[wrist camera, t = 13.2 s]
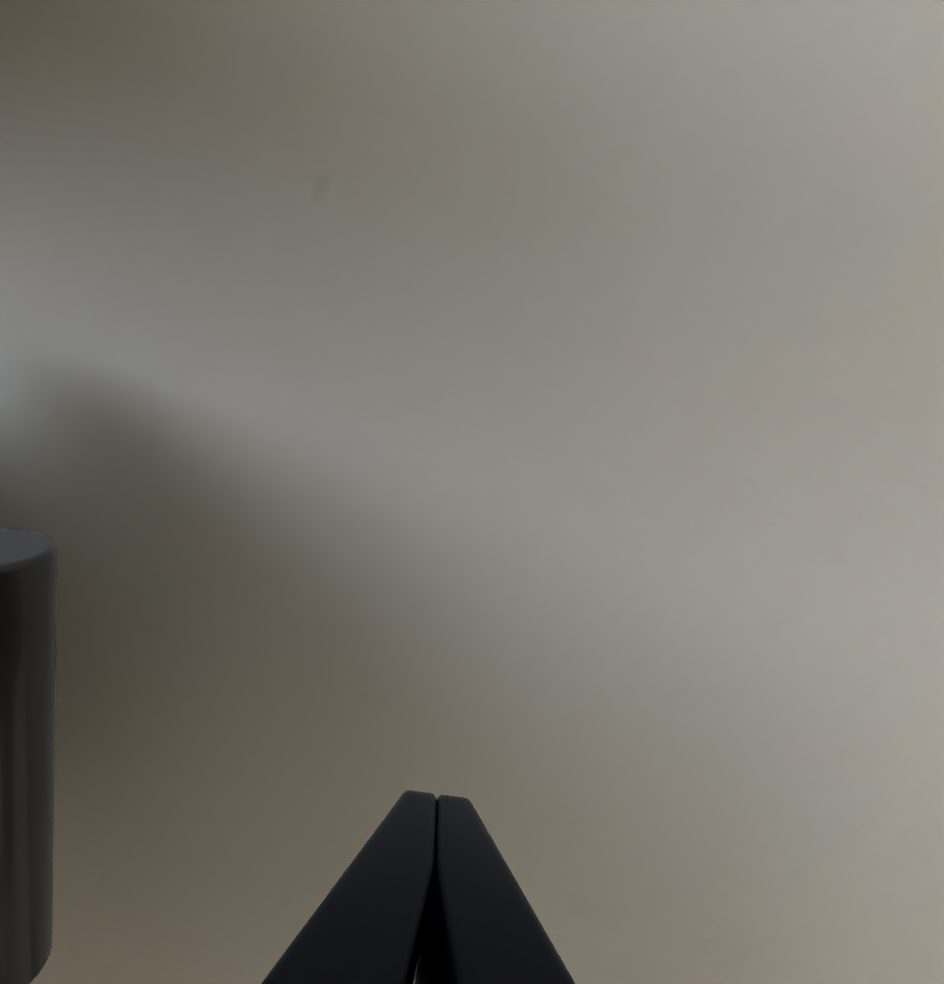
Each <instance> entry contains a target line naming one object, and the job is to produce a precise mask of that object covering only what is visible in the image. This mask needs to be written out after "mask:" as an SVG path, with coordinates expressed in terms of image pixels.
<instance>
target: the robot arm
mask: <svg viewBox="0 0 944 984" xmlns="http://www.w3.org/2000/svg"><path fill="white" fill-rule="evenodd" d="M413 983H414V984H575V982H574V981H573V979H572V977H571V975H570V974H569V972H568V970H567V968H566V967H565V965H564V963H563V961H562V960H561V958H560V956H559V954H558V953H557V951H556V949H555V947H554V946H553V944H552V942H551V941H550V939H549V937H548V935H547V934H546V932H545V930H544V928H543V927H542V925H541V923H540V921H539V920H538V918H537V916H536V914H535V913H534V911H533V909H532V907H531V906H530V904H529V902H528V901H527V899H526V897H525V895H524V894H523V892H522V890H521V888H520V887H519V885H518V883H517V881H516V880H515V878H514V876H513V874H512V873H511V871H510V869H509V867H508V866H507V864H506V862H505V861H504V859H503V857H502V855H501V854H500V852H499V850H498V848H497V847H496V845H495V843H494V841H493V840H492V838H491V836H490V834H489V833H488V831H487V829H486V827H485V826H484V824H483V822H482V820H481V819H480V817H479V815H478V814H477V812H476V810H475V808H474V807H473V805H472V803H471V802H470V800H468V799H467V798H464V797H456V796H448V795H440V796H439V797H438V798H437V801H436V797H435V795H434V794H432V793H426V792H418V791H411V790H409V791H406V792H404V793H403V794H402V796H401V797H400V798H399V800H398V801H397V802H396V804H395V805H394V806H393V808H392V809H391V810H390V812H389V813H388V814H387V816H386V817H385V818H384V820H383V821H382V822H381V824H380V825H379V826H378V828H377V829H376V831H375V832H374V833H373V835H372V836H371V837H370V839H369V840H368V841H367V843H366V844H365V845H364V847H363V848H362V849H361V851H360V852H359V853H358V855H357V856H356V857H355V859H354V860H353V861H352V863H351V864H350V865H349V867H348V868H347V869H346V871H345V872H344V873H343V875H342V876H341V877H340V879H339V880H338V881H337V883H336V884H335V886H334V887H333V888H332V890H331V891H330V892H329V894H328V895H327V896H326V898H325V899H324V900H323V902H322V903H321V904H320V906H319V907H318V908H317V910H316V911H315V912H314V914H313V915H312V916H311V918H310V919H309V920H308V922H307V923H306V924H305V926H304V927H303V928H302V930H301V931H300V932H299V934H298V935H297V936H296V938H295V939H294V941H293V942H292V943H291V945H290V946H289V947H288V949H287V950H286V951H285V953H284V954H283V955H282V957H281V958H280V959H279V961H278V962H277V963H276V965H275V966H274V967H273V969H272V970H271V971H270V973H269V974H268V975H267V977H266V978H265V979H264V981H263V982H262V984H413Z"/></svg>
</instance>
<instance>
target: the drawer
mask: <svg viewBox="0 0 944 984" xmlns="http://www.w3.org/2000/svg"><path fill="white" fill-rule="evenodd" d="M56 579H57V548H56V546H55V544H54V542H53V541H52V540H51V539H50V538H48V537H47V536H45V535H42V534H39V533H36V532H32V531H26V530H20V529H12V528H0V984H30V983H31V982H32V981H33V979H34V978H35V977H36V976H37V975H38V974H39V972H40V971H41V970H42V968H43V966H44V964H45V963H46V961H47V959H48V957H49V955H50V952H51V948H52V926H53V840H54V753H55V666H56Z"/></svg>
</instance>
